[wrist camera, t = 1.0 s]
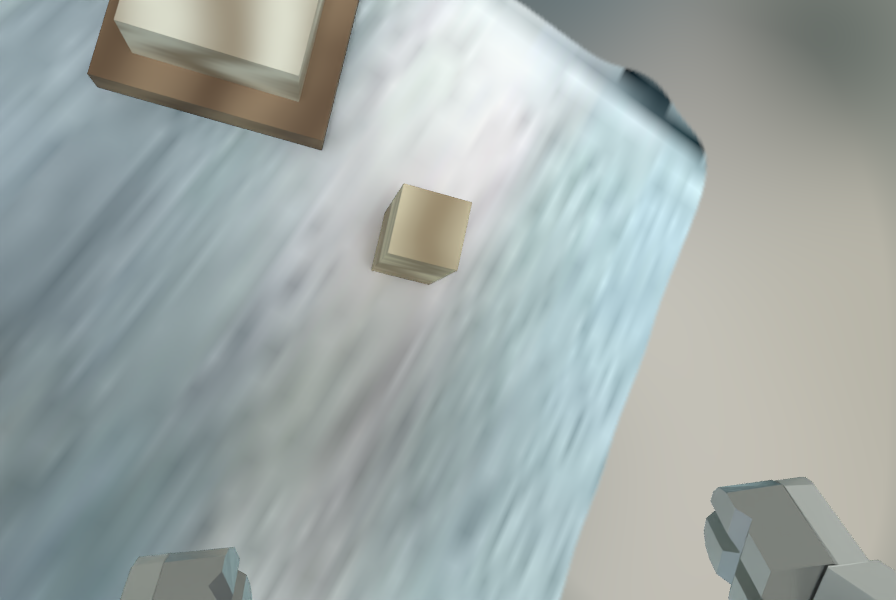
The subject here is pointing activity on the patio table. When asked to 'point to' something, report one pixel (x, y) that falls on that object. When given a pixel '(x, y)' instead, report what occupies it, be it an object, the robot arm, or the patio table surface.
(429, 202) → the birch block
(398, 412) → the patio table surface
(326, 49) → the plinth
